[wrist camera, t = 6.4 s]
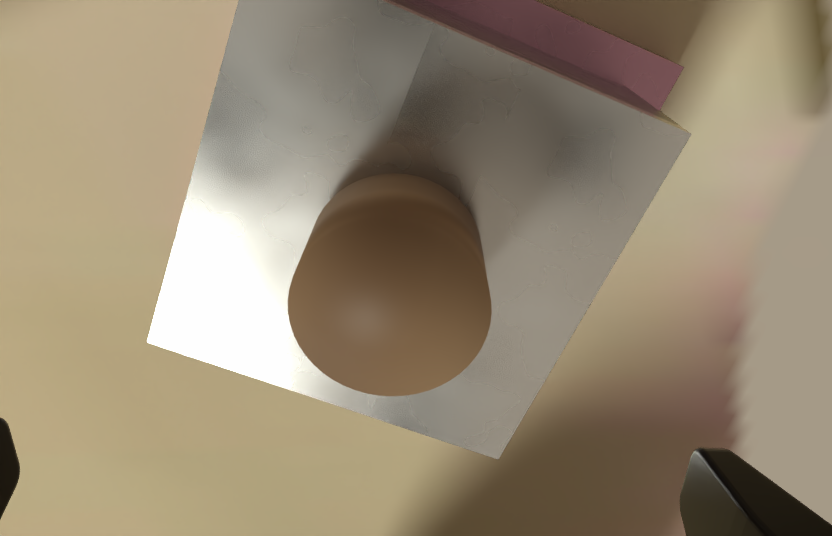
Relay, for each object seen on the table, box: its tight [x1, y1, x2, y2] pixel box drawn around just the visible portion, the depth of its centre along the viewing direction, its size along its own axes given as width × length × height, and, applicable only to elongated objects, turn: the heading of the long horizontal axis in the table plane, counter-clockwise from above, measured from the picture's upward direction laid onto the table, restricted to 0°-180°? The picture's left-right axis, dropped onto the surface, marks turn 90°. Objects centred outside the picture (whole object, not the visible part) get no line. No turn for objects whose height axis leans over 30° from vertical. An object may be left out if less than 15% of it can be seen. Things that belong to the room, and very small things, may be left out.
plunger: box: [288, 173, 492, 396], centre depth 15 cm, size 7×7×7 cm
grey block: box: [147, 0, 691, 459], centre depth 17 cm, size 11×11×6 cm
